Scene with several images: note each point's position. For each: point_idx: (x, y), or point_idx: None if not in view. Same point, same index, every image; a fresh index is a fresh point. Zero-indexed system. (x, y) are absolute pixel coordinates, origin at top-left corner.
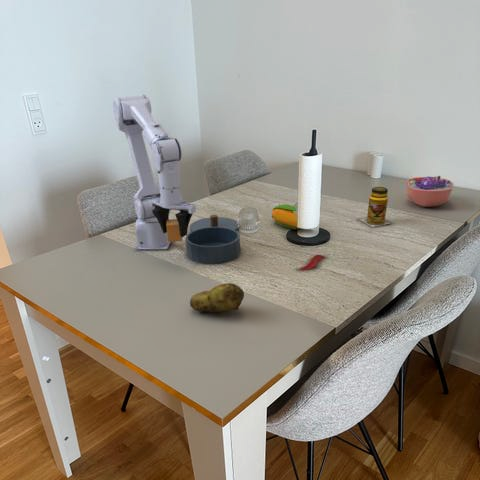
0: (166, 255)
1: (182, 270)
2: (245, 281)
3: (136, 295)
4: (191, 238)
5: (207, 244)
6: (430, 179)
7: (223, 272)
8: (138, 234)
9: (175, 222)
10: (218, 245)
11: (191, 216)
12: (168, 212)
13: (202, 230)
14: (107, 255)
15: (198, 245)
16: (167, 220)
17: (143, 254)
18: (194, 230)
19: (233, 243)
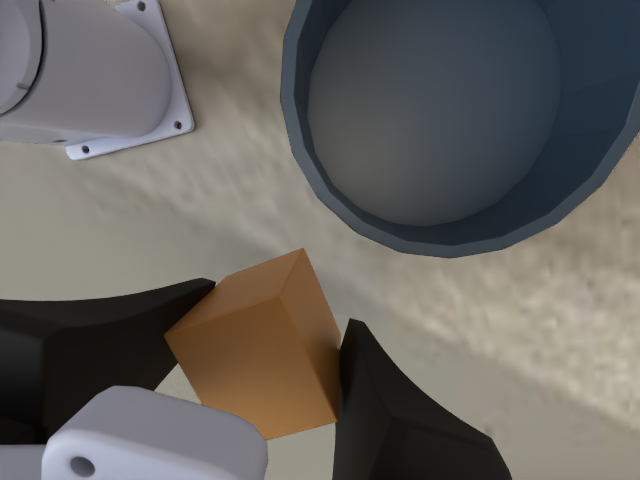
0: (223, 187)
1: (346, 307)
2: (616, 350)
3: (273, 474)
4: (301, 74)
5: (371, 16)
6: None
7: (515, 295)
8: (3, 139)
9: (274, 390)
10: (436, 13)
11: (449, 414)
12: (120, 328)
13: None
14: (4, 238)
15: (407, 247)
16: (181, 357)
17: (126, 199)
18: (300, 2)
19: (615, 156)
